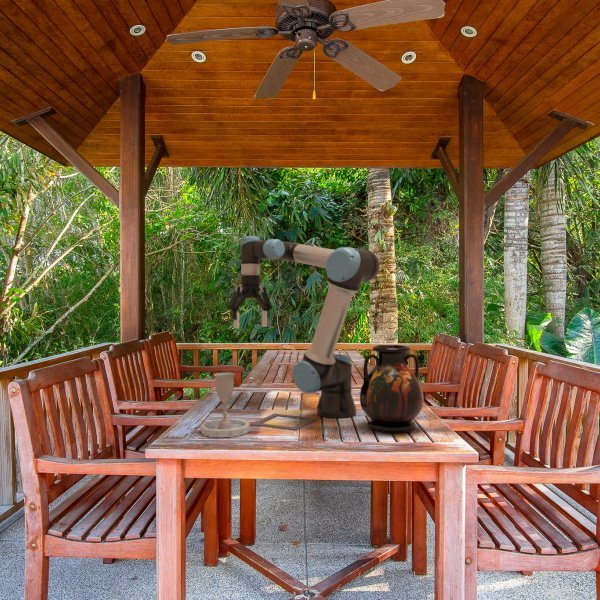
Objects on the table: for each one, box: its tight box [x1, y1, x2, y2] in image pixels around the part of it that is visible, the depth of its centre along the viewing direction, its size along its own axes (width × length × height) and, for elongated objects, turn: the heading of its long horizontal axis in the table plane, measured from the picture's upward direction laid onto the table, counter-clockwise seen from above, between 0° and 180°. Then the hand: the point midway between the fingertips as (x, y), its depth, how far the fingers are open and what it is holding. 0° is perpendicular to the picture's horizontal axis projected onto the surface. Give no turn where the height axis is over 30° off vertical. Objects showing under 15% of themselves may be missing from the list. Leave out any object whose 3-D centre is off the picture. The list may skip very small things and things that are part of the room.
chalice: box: [213, 372, 236, 430], centre depth 172 cm, size 7×7×18 cm
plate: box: [199, 418, 250, 438], centre depth 172 cm, size 16×16×2 cm
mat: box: [250, 413, 318, 431], centre depth 185 cm, size 18×18×1 cm
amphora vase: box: [359, 344, 425, 434], centre depth 176 cm, size 22×22×28 cm
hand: (250, 327), depth 208 cm, fingers open, 13 cm apart
